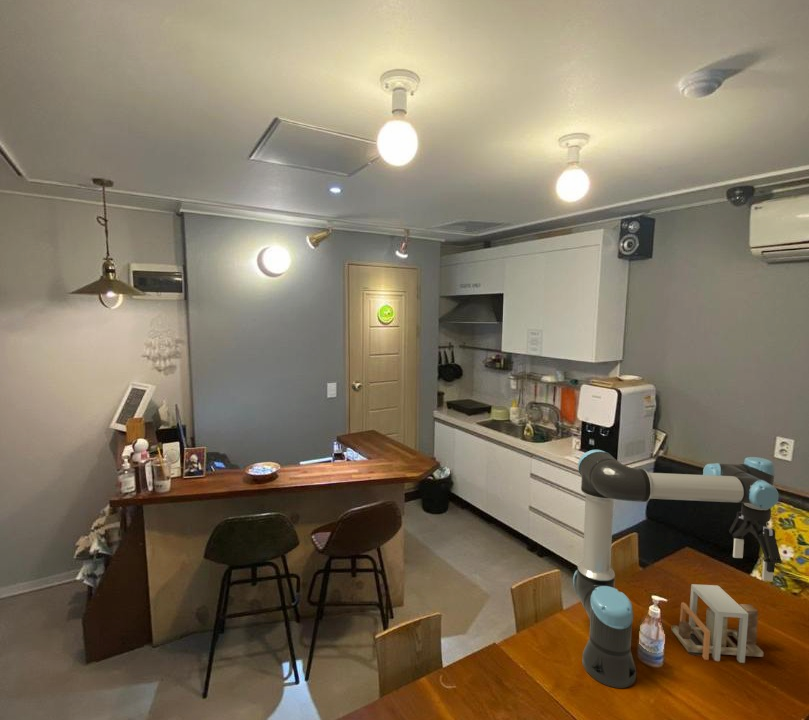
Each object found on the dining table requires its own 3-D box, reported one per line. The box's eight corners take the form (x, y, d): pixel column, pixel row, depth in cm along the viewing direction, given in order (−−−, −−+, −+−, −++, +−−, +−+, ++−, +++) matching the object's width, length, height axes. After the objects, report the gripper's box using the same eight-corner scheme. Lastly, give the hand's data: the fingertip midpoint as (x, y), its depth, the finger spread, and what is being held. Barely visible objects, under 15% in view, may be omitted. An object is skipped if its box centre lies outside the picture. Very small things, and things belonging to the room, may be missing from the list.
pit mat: (690, 654, 142) (690, 653, 142) (672, 631, 153) (672, 630, 153) (709, 656, 141) (709, 655, 141) (690, 632, 152) (690, 631, 152)
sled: (688, 651, 142) (690, 613, 141) (671, 629, 152) (673, 594, 151) (763, 656, 140) (766, 618, 139) (740, 634, 151) (743, 598, 150)
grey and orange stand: (704, 660, 140) (708, 611, 138) (679, 627, 154) (682, 583, 153) (744, 662, 139) (748, 613, 137) (715, 630, 153) (718, 585, 152)
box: (726, 651, 143) (728, 619, 142) (711, 649, 144) (713, 617, 143) (718, 640, 148) (720, 609, 148) (704, 638, 149) (706, 607, 148)
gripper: (800, 523, 128) (794, 592, 130) (742, 491, 153) (738, 549, 155) (773, 522, 129) (768, 590, 131) (719, 490, 154) (715, 548, 155)
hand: (751, 568), depth 143 cm, fingers open, 13 cm apart
